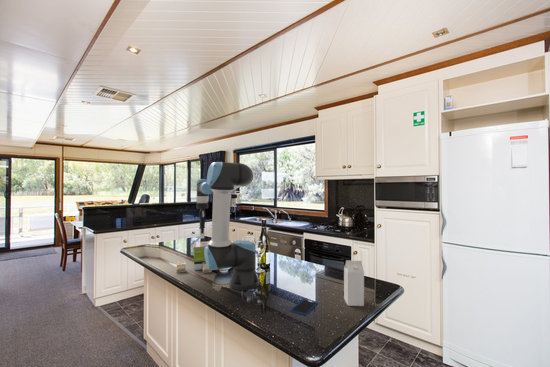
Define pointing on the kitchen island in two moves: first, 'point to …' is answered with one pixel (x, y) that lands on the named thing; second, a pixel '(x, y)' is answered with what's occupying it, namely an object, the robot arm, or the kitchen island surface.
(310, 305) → the cell phone
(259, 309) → the kitchen island surface
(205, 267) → the marked block
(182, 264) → the marked block
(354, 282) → the milk carton
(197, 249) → the tea box
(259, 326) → the kitchen island surface
